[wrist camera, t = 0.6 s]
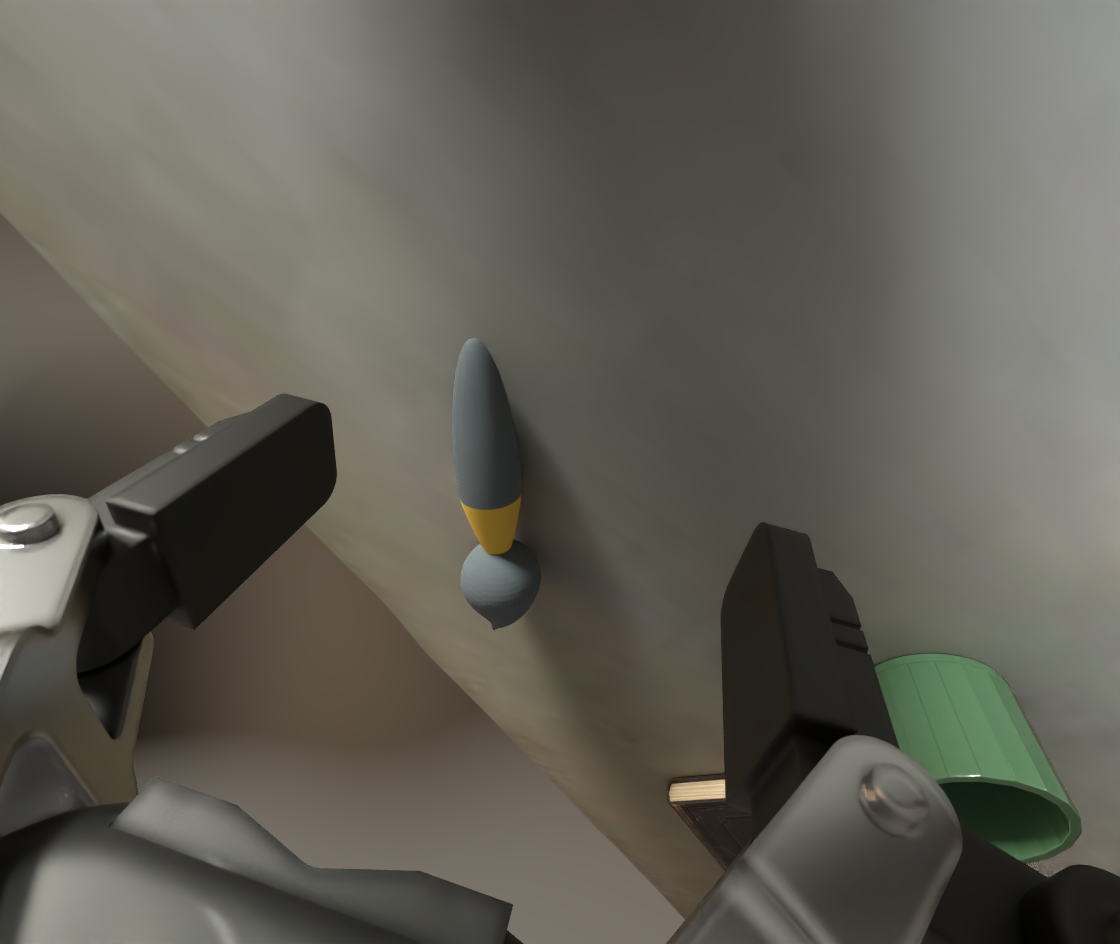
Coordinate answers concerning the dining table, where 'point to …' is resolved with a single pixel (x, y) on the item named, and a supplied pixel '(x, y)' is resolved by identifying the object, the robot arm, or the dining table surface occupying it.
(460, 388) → the paintbrush
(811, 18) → the dining table surface
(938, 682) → the cup
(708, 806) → the hardcover book
